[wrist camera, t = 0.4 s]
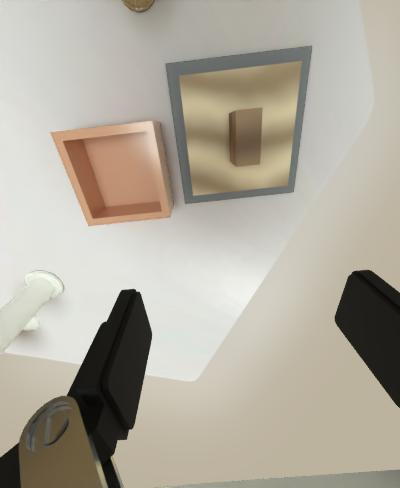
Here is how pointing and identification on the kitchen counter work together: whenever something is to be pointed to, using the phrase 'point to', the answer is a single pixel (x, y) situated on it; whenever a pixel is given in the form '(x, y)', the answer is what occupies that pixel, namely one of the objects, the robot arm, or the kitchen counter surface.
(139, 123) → the open wooden tray
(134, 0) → the sprinkles bottle
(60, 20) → the kitchen counter surface
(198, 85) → the lid
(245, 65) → the mat
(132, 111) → the kitchen counter surface
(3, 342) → the candle
